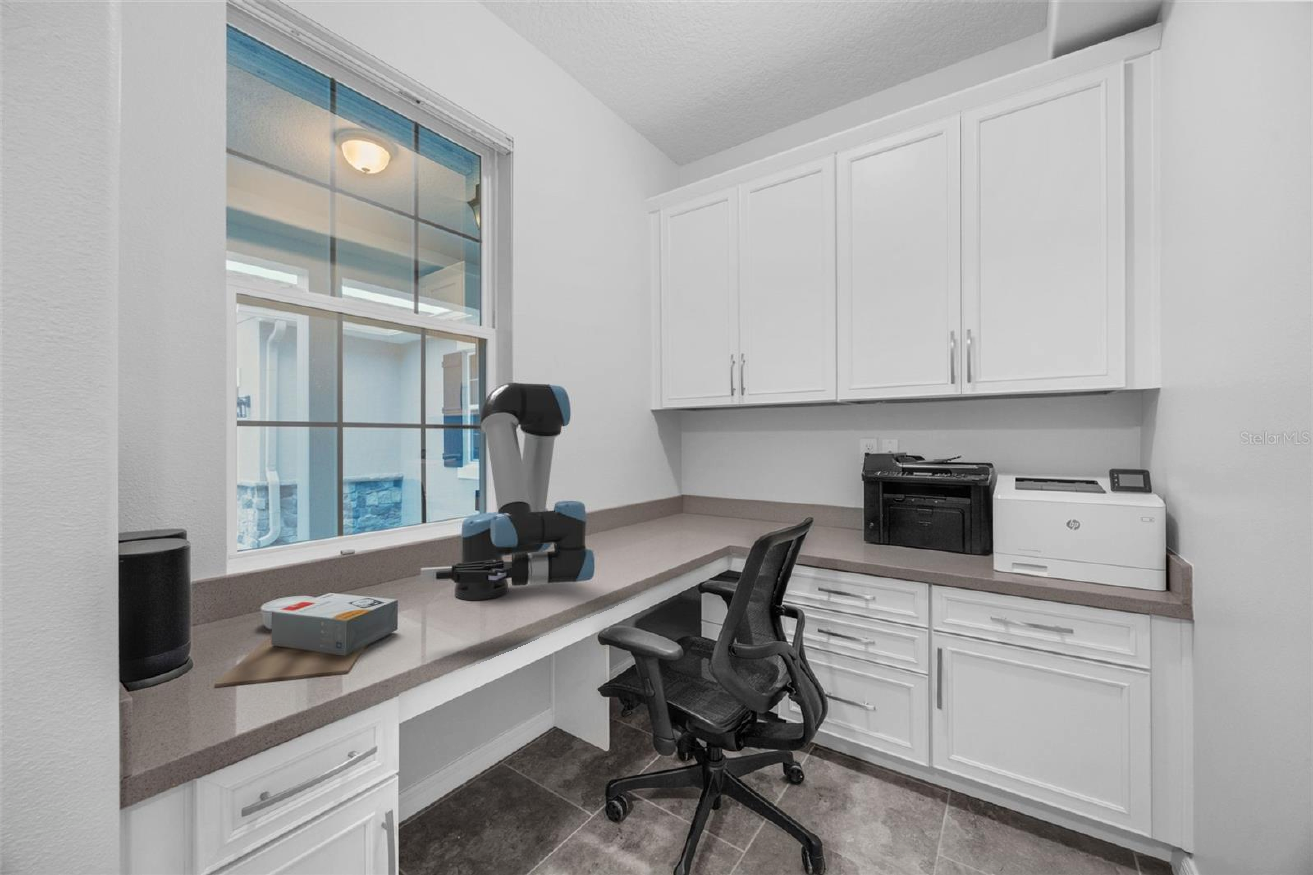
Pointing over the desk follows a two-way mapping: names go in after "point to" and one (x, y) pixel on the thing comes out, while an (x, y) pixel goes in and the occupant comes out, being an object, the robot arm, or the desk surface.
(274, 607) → the ramekin
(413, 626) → the desk surface
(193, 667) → the desk surface
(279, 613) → the hard drive box
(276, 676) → the walnut board
